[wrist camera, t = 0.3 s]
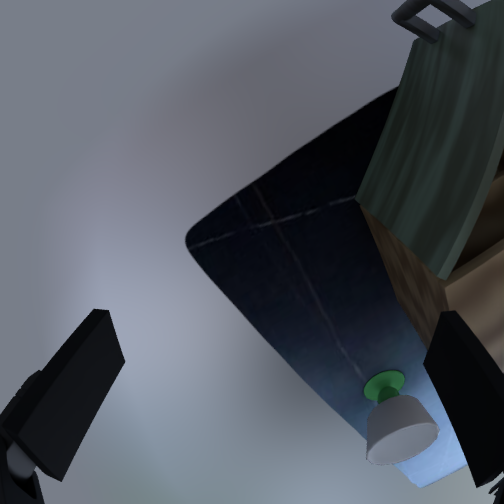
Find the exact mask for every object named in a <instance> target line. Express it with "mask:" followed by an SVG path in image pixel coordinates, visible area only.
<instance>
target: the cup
mask: <svg viewBox="0 0 504 504" xmlns="http://www.w3.org/2000/svg"><path fill="white" fill-rule="evenodd" d="M404 381H405V377H404V375H403V374H402V373H401V372H399V371H397V370H389V371H385V372H381V373H379V374H377V375H375V376H374V377H372V378H371V379H370V380H369V381H368V382H367V383H366V385H365V387H364V395H365V396H366V397H367V398H368V399H371V400H378V403H379V405H378V406H376V407H375V408H374V409H373V410H372V412H371V414H370V415H369V417H368V424H367V455H366V459H367V460H368V461H369V462H370V463H372V464H377V465H389V464H395V463H398V462H402V461H405V460H407V459H410V458H412V457H414V456H416V455H418V454H420V453H421V452H422V451H424V450H425V449H427V448H428V447H429V446H430V445H431V444H432V443H433V442H434V441H435V440H436V439H437V436H438V434H439V431H440V430H439V428H438V425H437V424H436V422H435V421H434V420H433V418H432V417H431V416H430V415H429V413H428V412H427V411H426V409H425V408H424V407H423V405H422V404H421V403H420V402H419V400H418V399H416V398H414V397H412V396H409V395H399V392H398V391H399V390H400V389H401V388H402V386H403V385H404Z"/></svg>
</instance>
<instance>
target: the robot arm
mask: <svg viewBox="0 0 504 504" xmlns="http://www.w3.org/2000/svg"><path fill="white" fill-rule="evenodd" d="M124 363H125V359H124V356H123V354H122V351H121V348H120V345H119V342H118V339H117V335H116V332H115V329H114V326H113V323H112V319H111V316H110V312H109V310H102V309H93V310H92V312H91V313H90V314H89V315H88V316H87V317H86V318H85V319H84V320H83V322H82V323H81V324H80V325H79V327H77V329H76V330H75V331H74V332H73V333H72V334H71V336H70V337H69V338H68V339H67V340H66V342H65V343H64V344H63V345H62V346H61V348H60V349H59V350H58V351H57V352H56V354H55V355H54V356H53V357H52V359H51V360H50V361H49V362H48V364H47V365H46V366H45V367H44V369H43V370H42V371H40V370H38V371H37V372H35V373H34V374H33V375H31V376H30V377H28V379H27V380H26V381H25V382H24V384H23V385H22V386H21V389H19V390H18V391H17V393H16V394H15V395H16V396H14V397H13V398H12V399H11V401H10V402H9V404H8V405H7V406H6V408H5V409H4V410H3V412H2V413H1V414H0V504H45V503H44V499H43V496H42V492H41V488H40V484H39V480H38V476H37V474H36V472H35V471H34V469H35V467H36V466H38V467H39V469H41V471H42V472H44V473H45V474H46V475H48V476H50V477H52V478H54V479H56V480H58V481H60V482H62V480H63V478H64V476H65V474H66V472H67V470H68V468H69V466H70V464H71V462H72V460H73V458H74V456H75V454H76V452H77V450H78V448H79V446H80V444H81V442H82V440H83V438H84V436H85V434H86V432H87V430H88V429H89V427H90V425H91V423H92V421H93V419H94V417H95V415H96V413H97V411H98V410H99V408H100V406H101V404H102V402H103V401H104V399H105V397H106V395H107V393H108V392H109V390H110V388H111V386H112V384H113V383H114V381H115V379H116V377H117V376H118V374H119V372H120V370H121V368H122V367H123V365H124ZM423 365H424V367H425V369H426V371H427V373H428V375H429V377H430V379H431V381H432V383H433V385H434V387H435V389H436V391H437V393H438V395H439V398H440V400H441V402H442V404H443V406H444V408H445V411H446V413H447V415H448V417H449V419H450V422H451V424H452V426H453V429H454V431H455V433H456V436H457V438H458V440H459V443H460V445H461V448H462V450H463V453H464V455H465V458H466V461H467V463H468V466H469V468H470V471H471V474H472V477H473V480H474V482H475V485H476V488H478V487H480V486H482V485H485V484H487V483H489V482H491V481H493V480H494V479H495V478H496V477H497V476H498V475H499V474H501V472H503V473H504V374H503V372H502V371H501V369H500V368H499V366H498V365H497V364H496V362H495V361H494V359H493V358H492V357H491V355H490V354H489V352H488V351H487V350H486V348H485V347H484V346H483V344H482V343H481V342H480V340H479V339H478V338H477V336H476V335H475V334H474V333H473V331H472V330H471V329H470V327H469V326H468V325H467V324H466V322H465V321H464V320H463V319H462V317H461V316H460V315H459V314H458V313H457V311H456V310H452V311H442V312H441V313H440V316H439V319H438V323H437V326H436V329H435V332H434V335H433V338H432V341H431V343H430V346H429V349H428V352H427V354H426V357H425V360H424V362H423ZM498 487H499V488H498ZM497 488H498V491H496V493H495V494H494V495H495V496H496V497H495V500H494V503H493V504H504V477H503V478H502V479H501V480H500V481H499V482H498V483H497V484H496V485H495V486H493V487H492V488H491V489H490V491H489V494H491V493H492V492H493V491H495V490H496V489H497Z"/></svg>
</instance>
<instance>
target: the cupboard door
mask: <svg viewBox="0 0 504 504" xmlns="http://www.w3.org/2000/svg"><path fill="white" fill-rule="evenodd" d="M430 4H431V5H433V6H434V7H436V8H437V9H439V10H440V11H442V12H443V13H445V14H446V15H448V16H449V17H450V18H452V20H450V21H448V22H446V23H444V24H443V25H441V26H439V27H437V28H435V27H434V26H432V25H430V24H429V23H427V22H426V21H424V20H422V19H420V18H419V17H417V16H416V14H417V13H419V12H420V11H421V10H423V9H424V8H426V7H427V6H428V5H430ZM391 17H392V20H393V21H394V22H395V23H396V24H398V25H400V26H402V27H404V28H405V29H407V30H409V31H411V32H412V33H414V34H416V35H417V36H419V38H417V39H416V40H414V42H413V45H412V48H411V51H410V54H409V57H408V60H407V63H406V67H405V70H404V73H403V76H402V78H401V81H400V84H399V87H398V90H397V93H396V96H395V99H394V101H393V104H392V107H391V110H390V112H389V115H388V118H387V120H386V123H385V126H384V128H383V131H382V134H381V136H380V139H379V141H378V144H377V146H376V149H375V151H374V154H373V156H372V159H371V161H370V164H369V166H368V169H367V171H366V173H365V176H364V178H363V180H362V183H361V185H360V187H359V190H358V192H357V194H356V197H355V200H356V201H357V202H358V203H359V204H361V205H362V206H363V207H364V208H365V209H366V210H367V211H369V212H370V213H371V214H372V215H373V216H374V217H375V218H377V219H378V220H379V221H380V222H381V223H382V224H383V225H384V226H385V227H387V228H388V229H389V230H390V231H391V232H392V233H393V234H394V235H395V236H396V237H397V238H398V239H399V240H401V241H402V242H403V243H404V244H405V245H406V246H407V247H408V248H409V249H410V250H411V251H412V252H413V253H414V254H415V255H416V256H417V257H418V258H419V259H420V260H421V261H422V262H423V263H424V264H425V265H426V266H427V267H428V268H429V269H430V270H431V271H432V272H433V273H434V274H435V275H436V276H437V277H439V278H441V279H443V280H447V278H448V276H449V275H450V273H451V271H452V269H453V267H454V265H455V264H456V262H457V260H458V258H459V256H460V254H461V252H462V250H463V248H464V246H465V244H466V242H467V240H468V238H469V236H470V234H471V231H472V229H473V227H474V225H475V223H476V220H477V218H478V216H479V214H480V211H481V209H482V207H483V204H484V202H485V199H486V197H487V194H488V192H489V189H490V186H491V184H492V181H493V178H494V176H495V173H496V170H497V167H498V164H499V161H500V158H501V155H502V152H503V148H504V0H491V1H488V2H486V3H484V4H482V5H480V6H478V7H476V8H474V9H471V8H469V7H468V6H467V5H465V4H464V3H463V2H461V1H460V0H407V1H406V2H404V3H403V4H402V5H401V6H400V7H399V8H398V9H397V10H396V11H395V12H393V14H392V15H391Z"/></svg>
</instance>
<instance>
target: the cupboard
mask: <svg viewBox="0 0 504 504" xmlns="http://www.w3.org/2000/svg"><path fill="white" fill-rule="evenodd" d="M360 208H361V210H362V212H363V214H364V217H365V219H366V221H367V223H368V226H369V228H370V230H371V233H372V235H373V238H374V240H375V242H376V245H377V247H378V250H379V252H380V255H381V257H382V260H383V262H384V265H385V267H386V270H387V273H388V275H389V278H390V281H391V284H392V286H393V289H394V292H395V295H396V298H397V300H398V302H399V304H400V306H401V307H402V309H403V310H404V312H405V313H406V315H407V317H408V318H409V320H410V322H411V323H412V325H413V326H414V328H415V330H416V331H417V333H418V335H419V336H420V338H421V340H422V341H423V343H424V345H425V347H426V348H427V350H428V349H429V346H430V343H431V341H432V338H433V335H434V332H435V329H436V326H437V323H438V319H439V316H440V313H441V312H442V311H452V310H456V311H457V313H458V314H459V315H460V316H461V317H462V319H463V320H464V321H465V322H466V324H467V325H468V326H469V327H470V329H471V330H472V331H473V333H474V334H475V335H476V336H477V338H478V339H479V340H480V342H481V343H482V344H483V346H484V347H485V348H486V350H487V351H488V352H489V354H490V355H491V357H492V358H493V359H494V361H495V362H496V364H497V365H498V366H499V368H500V369H501V371H502V372H503V374H504V148H503V152H502V155H501V158H500V161H499V164H498V167H497V170H496V173H495V176H494V178H493V181H492V184H491V186H490V189H489V192H488V194H487V197H486V199H485V202H484V204H483V207H482V209H481V211H480V214H479V216H478V218H477V220H476V223H475V225H474V227H473V229H472V231H471V234H470V236H469V238H468V240H467V242H466V244H465V246H464V248H463V250H462V252H461V254H460V256H459V258H458V260H457V262H456V264H455V265H454V267H453V269H452V271H451V273H450V275H449V276H448V278H447V280H443V279H441V278H439V277H437V276H436V275H435V274H434V273H433V272H432V271H431V270H430V269H429V268H428V267H427V266H426V265H425V264H424V263H423V262H422V261H421V260H420V259H419V258H418V257H417V256H416V255H415V254H414V253H413V252H412V251H411V250H410V249H409V248H408V247H407V246H406V245H405V244H404V243H403V242H402V241H401V240H399V239H398V238H397V237H396V236H395V235H394V234H393V233H392V232H391V231H390V230H389V229H388V228H387V227H385V226H384V225H383V224H382V223H381V222H380V221H379V220H378V219H377V218H375V217H374V216H373V215H372V214H371V213H370V212H369V211H367V210H366V209H365V208H364V207H363V206H362V205H360Z"/></svg>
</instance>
